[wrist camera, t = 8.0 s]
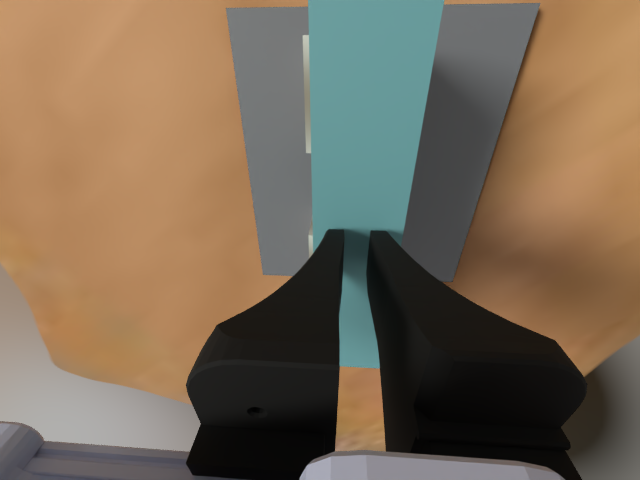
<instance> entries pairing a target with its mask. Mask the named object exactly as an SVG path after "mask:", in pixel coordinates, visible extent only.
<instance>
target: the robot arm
mask: <svg viewBox="0 0 640 480" xmlns="http://www.w3.org/2000/svg"><path fill="white" fill-rule="evenodd" d="M344 240H345V234H344V229H328V230H327V231H326V233H325V235H324V237H323V239H322V241H321V242H320V244H319V246H318V247H317V248H316V250H315V251H314V253H313V254H312V255H311V257H310V258H309V259H308V260H307V262H306V263H305V264H304V265H303V266H302V267H301V269H300V270H299V271H298V272H297V273H296V274H295V275H294V276H293V277H292V278H291V279H290V280H288V281H287V282H286V283H285V284H284V285H283V286H281V287H280V288H279V289H278V290H277V291H275V292H274V293H273V294H271V295H270V296H268V297H267V298H265V299H264V300H262V301H261V302H259V303H258V304H256V305H254V306H253V307H251V308H249V309H247V310H246V311H244V312H242V313H240V314H238V315H236V316H234V317H232V318H230V319H228V320H226V321H224V322H222V323H220V324H218V325H217V326H216V327H215V329H214V331H213V332H212V334H211V335H210V337H209V338H208V340H207V341H206V343H205V345H204V346H203V348H202V350H201V352H200V354H199V356H198V358H197V360H196V362H195V364H194V366H193V368H192V370H191V372H190V374H189V376H188V380H187V383H186V388H187V392H188V395H189V398H190V400H191V402H192V404H193V407H194V409H195V411H196V414H197V416H198V418H199V420H200V423H201V425H200V428H199V430H198V433H197V435H196V438H195V440H194V443H193V446H192V448H191V451H190V452H185V451H172V450H159V449H145V448H132V447H119V446H105V445H92V444H91V445H90V444H78V443H65V442H51V441H44V439H43V437H42V436H41V435H40V433H39V432H37V431H36V430H35V429H33V428H32V427H30V426H27V425H25V424H22V423H15V422H3V421H0V480H582V479H581V477H580V475H579V474H578V472H577V470H576V468H575V467H574V465H573V463H572V461H571V460H570V458H569V456H568V455H567V453H566V451H565V450H569V449H570V442H569V440H568V439H567V437H566V435H565V434H564V432H563V431H562V429H561V426H562V425H563V424H564V423H565V422H566V421H567V420H568V418H569V417H570V416H571V415H572V414H573V413H574V412H575V411H576V409H577V408H578V407H579V406H580V404H581V403H582V401H583V400H584V398H585V396H586V392H587V391H586V390H587V383H586V381H585V379H584V377H583V375H582V374H581V372H580V371H579V370H578V369H577V367H576V366H575V365H574V364H573V362H572V361H571V360H570V358H569V357H568V356H567V355H566V353H565V352H564V351H563V349H562V348H561V347H560V346H559V345H558V343H557V342H556V341H555V340H553V339H550V338H548V337H546V336H543V335H541V334H538V333H536V332H534V331H531V330H529V329H527V328H524V327H522V326H519V325H517V324H515V323H513V322H510V321H508V320H506V319H504V318H502V317H500V316H498V315H496V314H494V313H492V312H490V311H488V310H486V309H484V308H482V307H481V306H479V305H477V304H475V303H473V302H472V301H470V300H468V299H467V298H465V297H463V296H462V295H460V294H458V293H457V292H455V291H454V290H452V289H451V288H449V287H448V286H446V285H445V284H444V283H442V282H441V281H439V280H438V279H437V278H435V277H434V276H433V275H431V274H430V273H429V272H428V271H426V270H425V269H424V268H423V267H422V266H421V265H419V264H418V263H417V262H416V261H415V260H414V259H413V258H412V257H411V256H410V255H409V254H408V253H407V252H406V251H405V250H404V249H403V248H402V247H401V246H400V245H399V244H398V243H397V242H396V241H395V240H394V239H393V238H392V236H391V235H390V234H389V233H388V232H387V231H380V230H370V239H369V249H368V258H367V268H366V278H367V293H368V298H369V303H370V309H371V314H372V319H373V324H374V329H375V334H376V339H377V345H378V352H379V363H380V375H381V387H382V399H383V413H384V428H385V444H386V452H385V451H371V450H356V451H336V452H335V438H336V424H337V406H338V387H339V367H340V339H339V313H340V304H341V295H342V280H343V260H344Z"/></svg>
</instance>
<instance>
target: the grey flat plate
mask: <svg viewBox="0 0 640 480" xmlns="http://www.w3.org/2000/svg"><path fill="white" fill-rule="evenodd" d="M539 6H540V3H514V4H450V5H443V10H442V16H441V22H440V27H439V33H438V39H437V44H436V50H435V56H434V61H433V67H432V73H431V78H430V84H429V90H428V95H427V101H426V107H425V112H424V118H423V124H422V130H421V135H420V141H419V147H418V152H417V158H416V164H415V169H414V175H413V181H412V186H411V192H410V198H409V203H408V209H407V215H406V220H405V226H404V232H403V237H402V243H401V247H402V248H403V249H404V250H405V251H406V252H407V253H408V254H409V255H410V256H411V257H412V258H413V259H414V260H415V261H416V262H417V263H418V264H419V265H421V266H422V267H423V268H424V269H425V270H426V271H428V272H429V273H430V274H431V275H433V276H434V277H435V278H437V279H438V280H439V281H441V282H453V278H454V275H455V272H456V269H457V266H458V263H459V259H460V256H461V253H462V250H463V247H464V244H465V240H466V237H467V234H468V231H469V228H470V224H471V221H472V218H473V215H474V212H475V209H476V205H477V202H478V199H479V196H480V193H481V190H482V186H483V183H484V180H485V177H486V174H487V171H488V167H489V164H490V161H491V158H492V155H493V152H494V148H495V145H496V142H497V139H498V136H499V132H500V129H501V126H502V123H503V120H504V117H505V113H506V110H507V107H508V104H509V101H510V98H511V94H512V91H513V88H514V85H515V82H516V79H517V75H518V72H519V69H520V66H521V63H522V60H523V56H524V53H525V50H526V47H527V44H528V40H529V37H530V34H531V31H532V28H533V25H534V21H535V18H536V15H537V12H538V9H539ZM226 12H227V19H228V26H229V33H230V40H231V48H232V55H233V62H234V69H235V76H236V84H237V91H238V98H239V105H240V112H241V119H242V127H243V134H244V141H245V148H246V155H247V162H248V170H249V177H250V184H251V191H252V198H253V206H254V213H255V220H256V227H257V234H258V241H259V249H260V256H261V263H262V270H263V275H283V276H294V275H295V274H296V273H297V272H298V271H299V270H300V269H301V267H302V266H303V265H304V264H305V263H306V262H307V260H308V259H309V237H308V235H309V230H310V225H311V220H312V171H311V153H306V134H305V99H304V65H303V35H309V16H308V7H261V8H226Z"/></svg>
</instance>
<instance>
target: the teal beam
mask: <svg viewBox="0 0 640 480" xmlns="http://www.w3.org/2000/svg"><path fill="white" fill-rule="evenodd" d="M443 5H444V0H308V16H309V68H310V119H311V171H312V222H313V253H314V251H315V250H316V248H317V247H318V246H319V244H320V242H321V241H322V239H323V237H324V235H325V233H326V231H327V230H328V229H344V234H345V240H344V260H343V280H342V295H341V304H340V313H339V339H340V366H346V367H364V368H380V363H379V352H378V345H377V339H376V334H375V329H374V324H373V319H372V314H371V309H370V303H369V298H368V293H367V278H366V268H367V258H368V249H369V239H370V230H380V231H387V232H388V233H389V234H390V235H391V236H392V238H393V239H394V240H395V241H396V242H397V243H398V244H399V245H400V246H401V243H402V237H403V232H404V226H405V220H406V215H407V209H408V203H409V198H410V192H411V186H412V181H413V175H414V169H415V164H416V158H417V152H418V147H419V141H420V135H421V130H422V124H423V118H424V112H425V107H426V101H427V95H428V90H429V84H430V78H431V73H432V67H433V61H434V56H435V50H436V44H437V39H438V33H439V27H440V22H441V16H442V10H443Z"/></svg>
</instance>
